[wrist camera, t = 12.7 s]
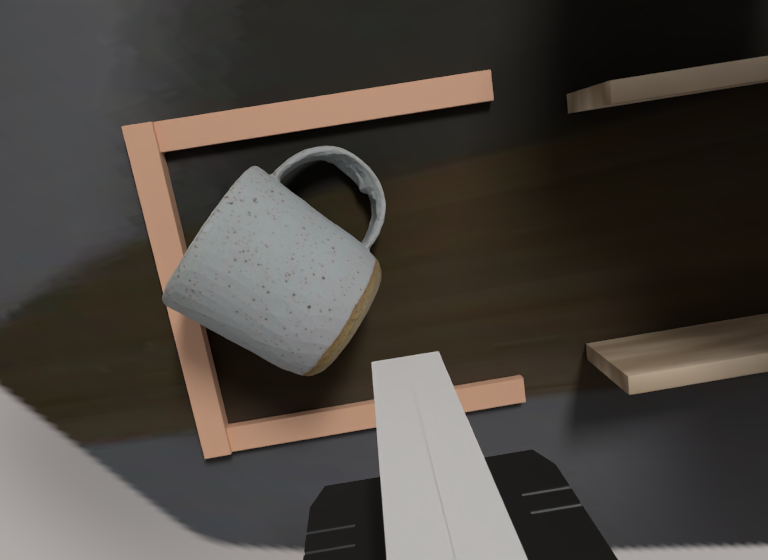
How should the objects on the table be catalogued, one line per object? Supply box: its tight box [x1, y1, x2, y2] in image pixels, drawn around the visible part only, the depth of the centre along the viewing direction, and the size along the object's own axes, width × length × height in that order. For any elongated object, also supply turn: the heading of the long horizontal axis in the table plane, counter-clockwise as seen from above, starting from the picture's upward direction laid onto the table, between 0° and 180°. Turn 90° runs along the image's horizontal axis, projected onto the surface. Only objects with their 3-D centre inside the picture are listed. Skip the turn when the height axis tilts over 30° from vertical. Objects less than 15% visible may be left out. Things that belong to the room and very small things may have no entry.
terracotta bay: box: [121, 70, 526, 459], centre depth 30 cm, size 18×19×1 cm
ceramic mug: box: [162, 146, 386, 376], centre depth 26 cm, size 11×8×8 cm
